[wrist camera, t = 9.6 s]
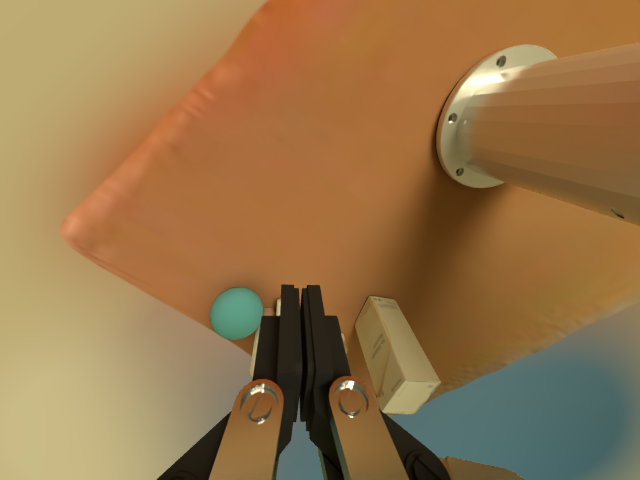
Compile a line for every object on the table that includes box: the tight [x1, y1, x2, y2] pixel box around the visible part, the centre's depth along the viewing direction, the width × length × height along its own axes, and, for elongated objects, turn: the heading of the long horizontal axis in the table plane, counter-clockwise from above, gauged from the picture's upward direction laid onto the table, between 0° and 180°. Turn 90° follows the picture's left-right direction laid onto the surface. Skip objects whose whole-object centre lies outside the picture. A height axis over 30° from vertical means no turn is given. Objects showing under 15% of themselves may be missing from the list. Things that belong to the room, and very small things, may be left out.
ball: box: [210, 287, 263, 340], centre depth 29 cm, size 6×6×6 cm
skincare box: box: [355, 296, 441, 414], centre depth 30 cm, size 6×4×12 cm
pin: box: [249, 308, 276, 377], centre depth 30 cm, size 2×2×8 cm
